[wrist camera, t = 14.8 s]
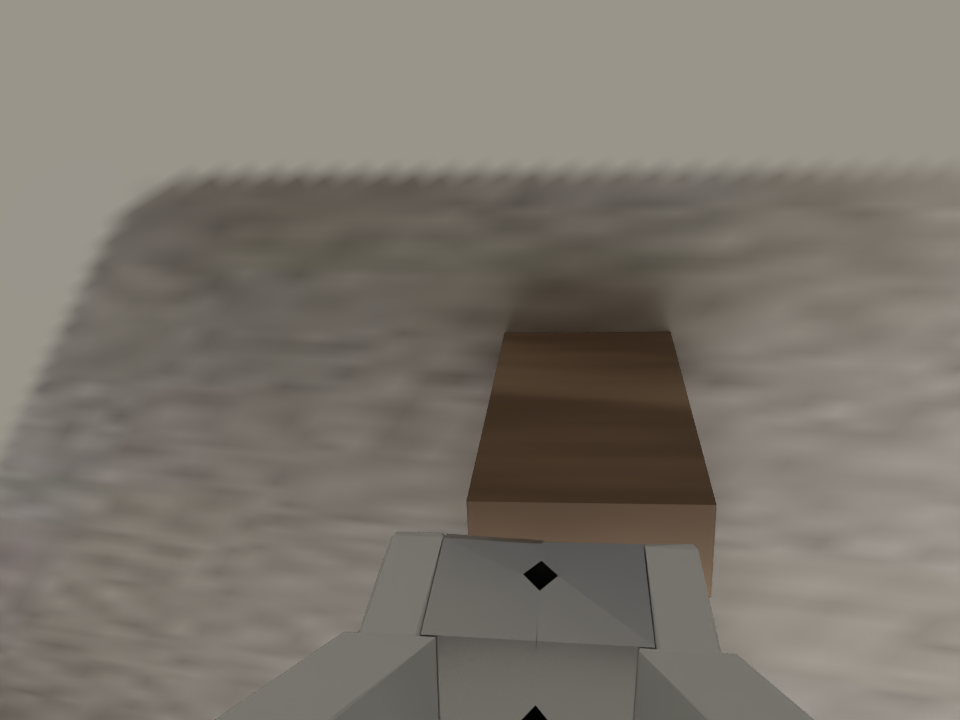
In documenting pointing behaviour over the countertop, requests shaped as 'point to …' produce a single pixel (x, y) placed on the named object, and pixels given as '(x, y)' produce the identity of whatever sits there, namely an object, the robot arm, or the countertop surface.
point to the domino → (592, 445)
